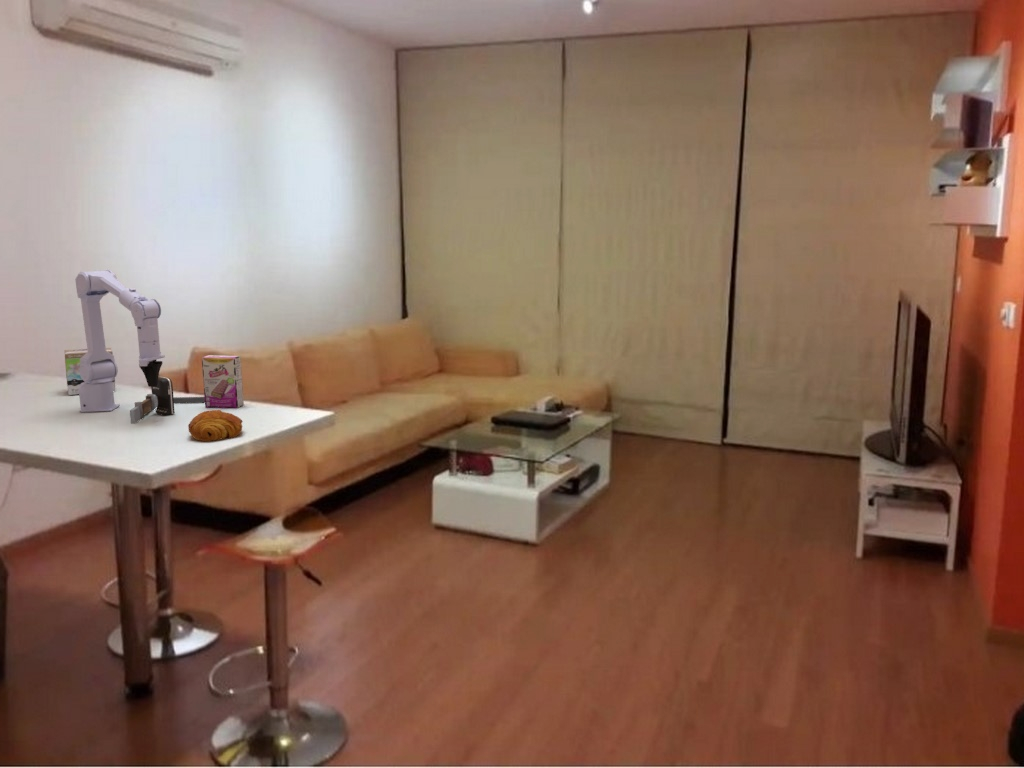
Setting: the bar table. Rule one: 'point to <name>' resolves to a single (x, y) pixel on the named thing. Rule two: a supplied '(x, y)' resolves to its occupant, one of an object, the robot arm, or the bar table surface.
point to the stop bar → (189, 399)
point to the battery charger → (164, 396)
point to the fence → (137, 411)
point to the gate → (147, 405)
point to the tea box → (76, 369)
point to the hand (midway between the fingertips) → (152, 386)
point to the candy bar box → (222, 381)
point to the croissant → (215, 425)
